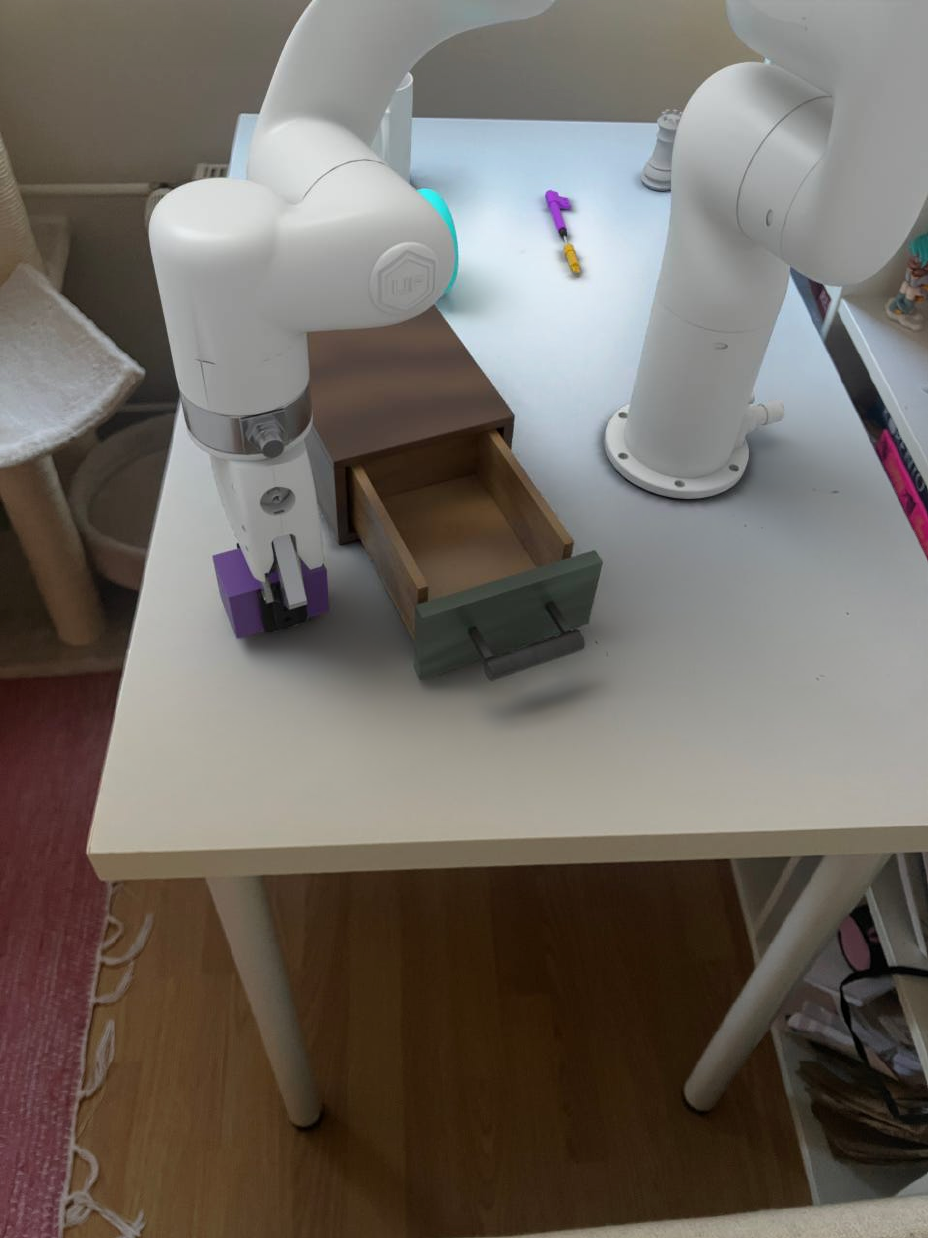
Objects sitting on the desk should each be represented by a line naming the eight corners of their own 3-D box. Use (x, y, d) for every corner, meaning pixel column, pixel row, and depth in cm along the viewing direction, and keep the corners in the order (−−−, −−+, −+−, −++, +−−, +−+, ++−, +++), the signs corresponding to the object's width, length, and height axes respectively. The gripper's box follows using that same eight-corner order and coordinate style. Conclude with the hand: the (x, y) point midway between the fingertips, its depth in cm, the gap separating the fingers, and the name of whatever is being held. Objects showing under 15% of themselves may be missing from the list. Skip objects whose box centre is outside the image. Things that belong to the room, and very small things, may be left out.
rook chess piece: (683, 181, 120) (699, 112, 114) (667, 196, 118) (682, 126, 111) (649, 169, 121) (663, 101, 115) (633, 184, 119) (646, 115, 113)
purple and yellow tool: (542, 196, 115) (569, 275, 106) (546, 186, 115) (573, 265, 105) (564, 201, 116) (592, 280, 106) (567, 191, 115) (596, 270, 106)
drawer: (617, 666, 72) (634, 605, 67) (444, 727, 68) (448, 666, 63) (488, 473, 84) (494, 407, 79) (334, 514, 80) (330, 448, 75)
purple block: (311, 571, 76) (307, 529, 72) (329, 611, 74) (326, 569, 70) (220, 597, 74) (211, 555, 70) (236, 639, 72) (228, 597, 68)
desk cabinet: (505, 498, 84) (515, 415, 77) (338, 545, 80) (333, 461, 73) (419, 367, 95) (421, 284, 88) (267, 403, 90) (256, 318, 83)
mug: (351, 172, 117) (347, 63, 108) (408, 171, 118) (409, 63, 109) (356, 217, 111) (352, 106, 102) (416, 216, 112) (418, 105, 102)
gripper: (357, 476, 56) (363, 671, 70) (266, 310, 65) (288, 512, 79) (224, 510, 53) (259, 704, 68) (150, 333, 63) (194, 537, 77)
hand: (274, 599), depth 73 cm, fingers closed on purple block, 4 cm apart
